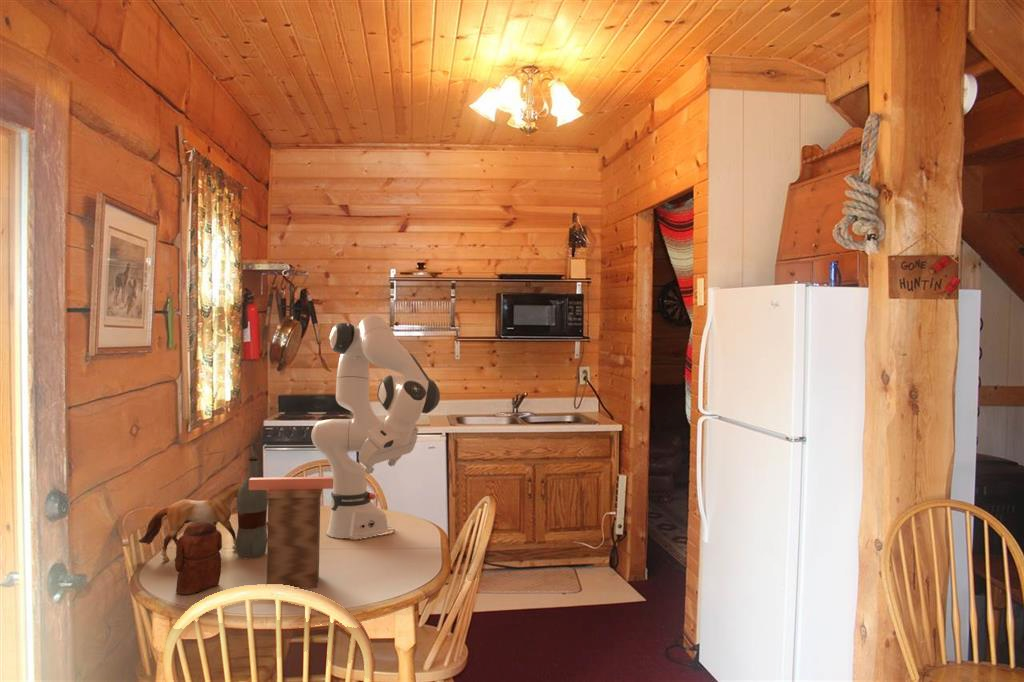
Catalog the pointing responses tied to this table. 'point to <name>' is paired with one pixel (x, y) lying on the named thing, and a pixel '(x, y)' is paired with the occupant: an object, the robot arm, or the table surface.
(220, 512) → the horse figurine
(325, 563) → the table surface
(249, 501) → the bottle
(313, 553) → the stand
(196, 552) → the wooden figurine
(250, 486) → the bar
